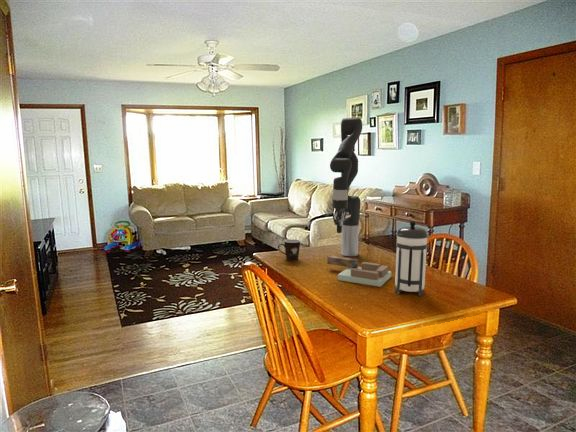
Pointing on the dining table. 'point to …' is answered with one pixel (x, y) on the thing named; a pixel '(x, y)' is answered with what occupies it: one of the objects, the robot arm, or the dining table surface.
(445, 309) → the dining table surface
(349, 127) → the robot arm
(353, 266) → the brown rectangular bar
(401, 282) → the coffee press
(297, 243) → the coffee mug
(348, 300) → the dining table surface
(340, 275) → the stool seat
